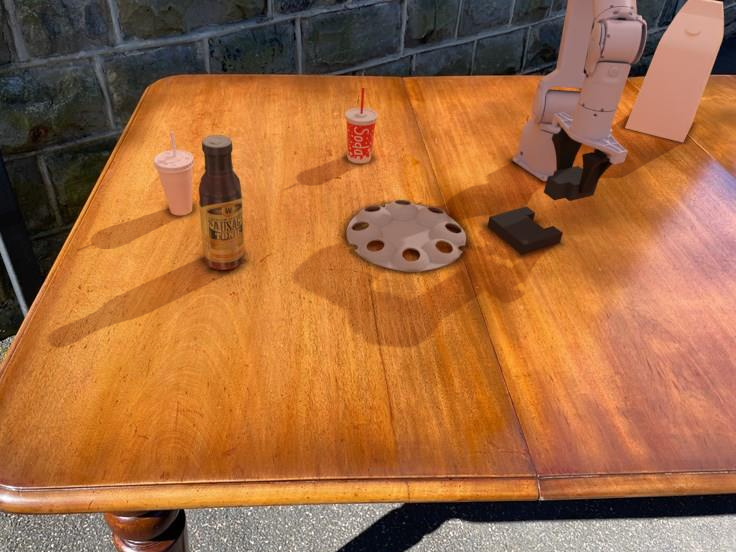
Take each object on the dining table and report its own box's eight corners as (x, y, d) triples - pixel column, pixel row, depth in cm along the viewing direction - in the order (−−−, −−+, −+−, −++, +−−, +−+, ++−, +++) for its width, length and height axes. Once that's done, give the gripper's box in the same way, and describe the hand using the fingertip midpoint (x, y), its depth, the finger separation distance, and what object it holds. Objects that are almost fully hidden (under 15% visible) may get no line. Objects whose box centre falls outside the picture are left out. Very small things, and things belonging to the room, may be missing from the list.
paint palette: (400, 192, 115) (401, 182, 114) (489, 237, 105) (491, 227, 103) (321, 233, 104) (322, 223, 103) (412, 288, 94) (414, 277, 93)
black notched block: (539, 189, 105) (543, 173, 103) (573, 181, 108) (578, 165, 106) (558, 204, 102) (563, 187, 100) (593, 195, 104) (598, 179, 102)
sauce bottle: (212, 277, 95) (197, 155, 82) (199, 254, 99) (182, 136, 86) (253, 265, 97) (244, 146, 84) (238, 244, 101) (228, 127, 88)
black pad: (487, 226, 107) (489, 216, 106) (524, 215, 110) (526, 205, 109) (521, 255, 101) (524, 244, 100) (559, 242, 104) (563, 232, 103)
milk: (692, 123, 142) (743, -1, 125) (682, 142, 134) (736, 12, 117) (636, 110, 146) (678, -12, 130) (624, 128, 139) (668, 1, 122)
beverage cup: (338, 161, 123) (341, 91, 114) (350, 148, 128) (353, 79, 119) (368, 167, 122) (373, 97, 113) (378, 154, 126) (384, 85, 117)
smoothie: (207, 205, 110) (198, 129, 101) (185, 223, 105) (174, 146, 96) (176, 196, 112) (165, 121, 103) (154, 214, 107) (140, 137, 98)
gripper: (653, 119, 92) (623, 200, 100) (585, 83, 102) (563, 160, 110) (616, 126, 89) (589, 209, 98) (550, 89, 99) (530, 167, 108)
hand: (573, 183), depth 104 cm, fingers closed on black notched block, 5 cm apart
